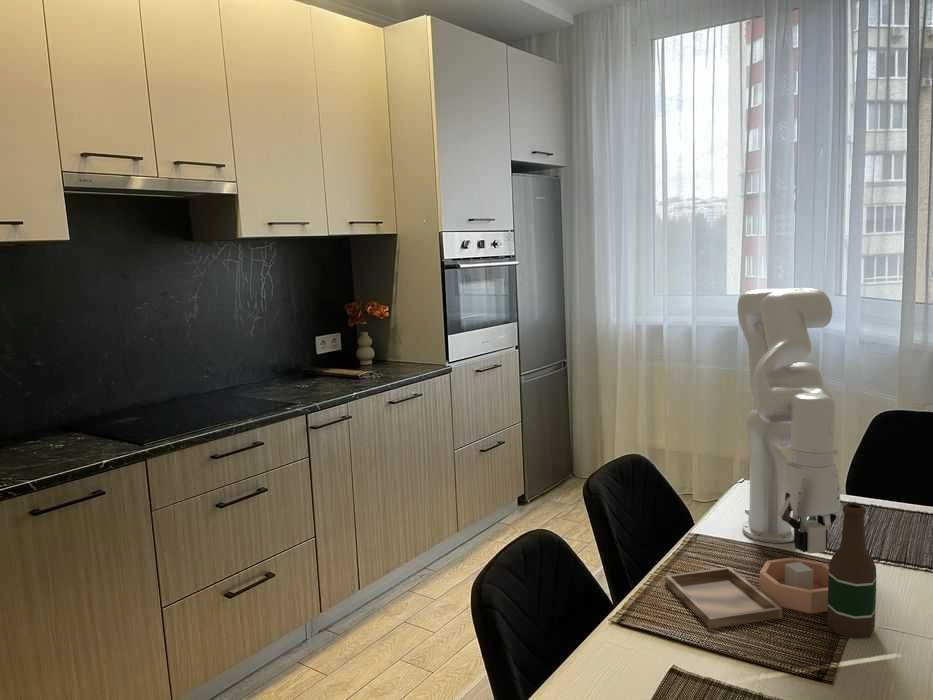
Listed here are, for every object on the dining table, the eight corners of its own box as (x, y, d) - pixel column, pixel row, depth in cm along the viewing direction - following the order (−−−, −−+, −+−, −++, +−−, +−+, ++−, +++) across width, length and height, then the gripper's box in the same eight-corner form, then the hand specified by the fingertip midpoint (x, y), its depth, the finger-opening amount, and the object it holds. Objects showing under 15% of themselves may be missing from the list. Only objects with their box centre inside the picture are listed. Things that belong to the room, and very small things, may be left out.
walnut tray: (665, 586, 152) (665, 575, 152) (729, 577, 155) (729, 566, 155) (710, 631, 134) (710, 619, 134) (782, 620, 137) (782, 608, 136)
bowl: (747, 584, 151) (747, 563, 151) (810, 576, 154) (810, 555, 153) (790, 619, 137) (790, 595, 136) (858, 609, 139) (859, 585, 139)
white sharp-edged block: (796, 545, 143) (796, 521, 142) (812, 543, 143) (812, 519, 143) (809, 553, 139) (809, 528, 138) (825, 551, 139) (826, 526, 139)
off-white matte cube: (784, 587, 148) (785, 564, 147) (799, 584, 149) (799, 561, 148) (797, 596, 144) (798, 572, 143) (812, 593, 145) (813, 569, 144)
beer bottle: (870, 623, 134) (874, 499, 131) (879, 645, 127) (883, 515, 124) (824, 617, 137) (827, 497, 134) (830, 639, 130) (833, 511, 126)
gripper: (837, 448, 144) (835, 536, 146) (761, 456, 141) (761, 545, 143) (864, 458, 136) (861, 551, 139) (784, 466, 134) (783, 560, 136)
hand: (810, 547), depth 141 cm, fingers closed on white sharp-edged block, 3 cm apart
